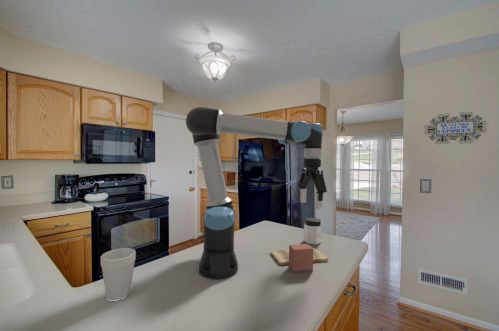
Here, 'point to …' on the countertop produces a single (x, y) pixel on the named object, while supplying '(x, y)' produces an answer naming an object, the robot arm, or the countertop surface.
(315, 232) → the jar
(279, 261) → the board
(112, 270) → the foam cup
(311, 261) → the block
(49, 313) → the countertop surface
